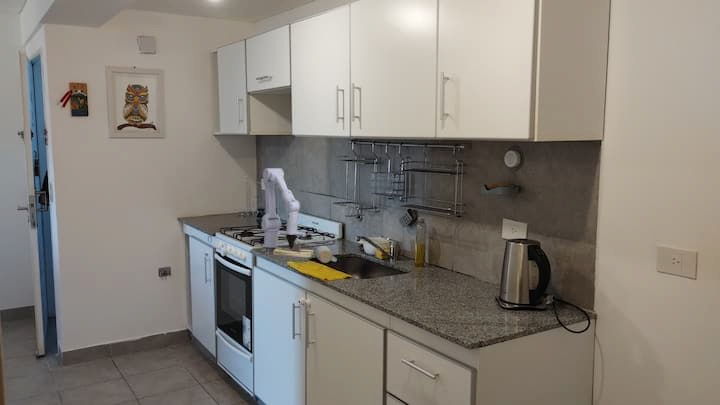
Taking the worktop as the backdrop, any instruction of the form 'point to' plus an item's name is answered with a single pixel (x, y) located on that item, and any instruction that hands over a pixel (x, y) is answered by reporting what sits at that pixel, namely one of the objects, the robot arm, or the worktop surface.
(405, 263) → the worktop surface
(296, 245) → the fader knob
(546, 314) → the worktop surface
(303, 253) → the fader console
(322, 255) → the ceramic mug
